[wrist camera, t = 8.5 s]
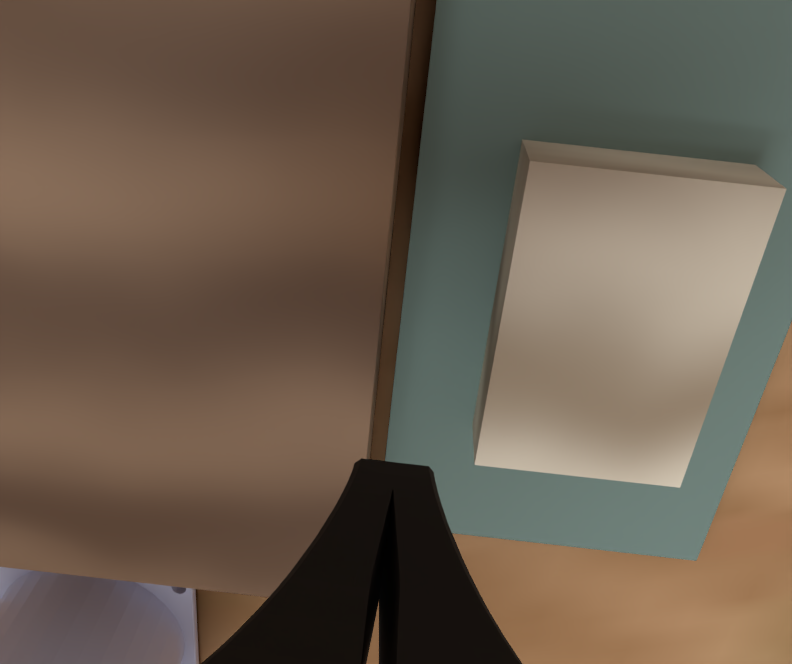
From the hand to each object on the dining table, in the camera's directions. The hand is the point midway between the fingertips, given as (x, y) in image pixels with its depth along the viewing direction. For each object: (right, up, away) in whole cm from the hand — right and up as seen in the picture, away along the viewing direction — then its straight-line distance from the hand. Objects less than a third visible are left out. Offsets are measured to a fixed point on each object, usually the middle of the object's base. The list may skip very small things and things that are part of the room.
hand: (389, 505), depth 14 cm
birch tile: (+6, +3, +6) cm, 9 cm away
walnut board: (-6, +5, +8) cm, 12 cm away
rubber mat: (+6, +4, +8) cm, 11 cm away
